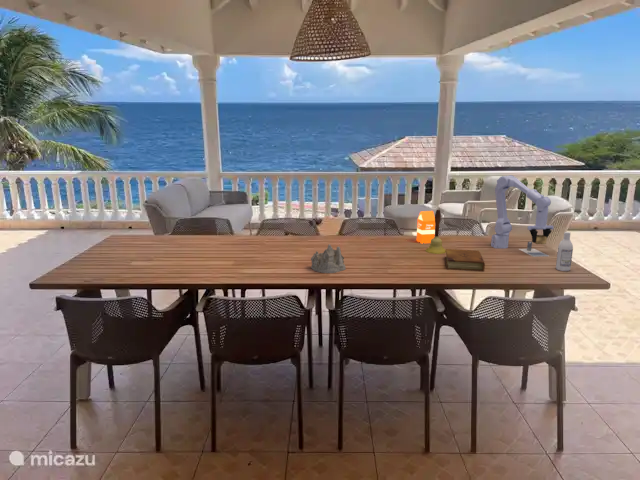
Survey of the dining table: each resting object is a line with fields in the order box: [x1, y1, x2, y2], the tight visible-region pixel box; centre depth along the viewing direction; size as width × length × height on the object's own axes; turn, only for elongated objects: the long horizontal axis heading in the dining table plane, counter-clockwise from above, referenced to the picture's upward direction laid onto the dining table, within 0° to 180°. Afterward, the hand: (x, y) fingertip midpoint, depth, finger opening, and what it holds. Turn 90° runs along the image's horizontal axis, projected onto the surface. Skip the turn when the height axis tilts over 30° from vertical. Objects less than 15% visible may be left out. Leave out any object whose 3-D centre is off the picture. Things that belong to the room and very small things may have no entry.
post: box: [526, 241, 533, 251], centre depth 298 cm, size 2×2×6 cm
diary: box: [444, 248, 486, 272], centre depth 273 cm, size 23×19×6 cm
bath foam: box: [555, 231, 574, 272], centre depth 262 cm, size 7×7×20 cm
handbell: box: [425, 209, 446, 255], centre depth 296 cm, size 12×12×25 cm
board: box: [518, 248, 549, 257], centre depth 293 cm, size 10×17×1 cm, turn 7°
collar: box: [531, 234, 548, 245], centre depth 287 cm, size 6×6×4 cm
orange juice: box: [416, 210, 435, 245], centre depth 319 cm, size 8×9×20 cm
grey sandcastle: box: [310, 244, 347, 274], centre depth 263 cm, size 16×16×15 cm
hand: (539, 241), depth 287 cm, fingers closed on collar, 6 cm apart
